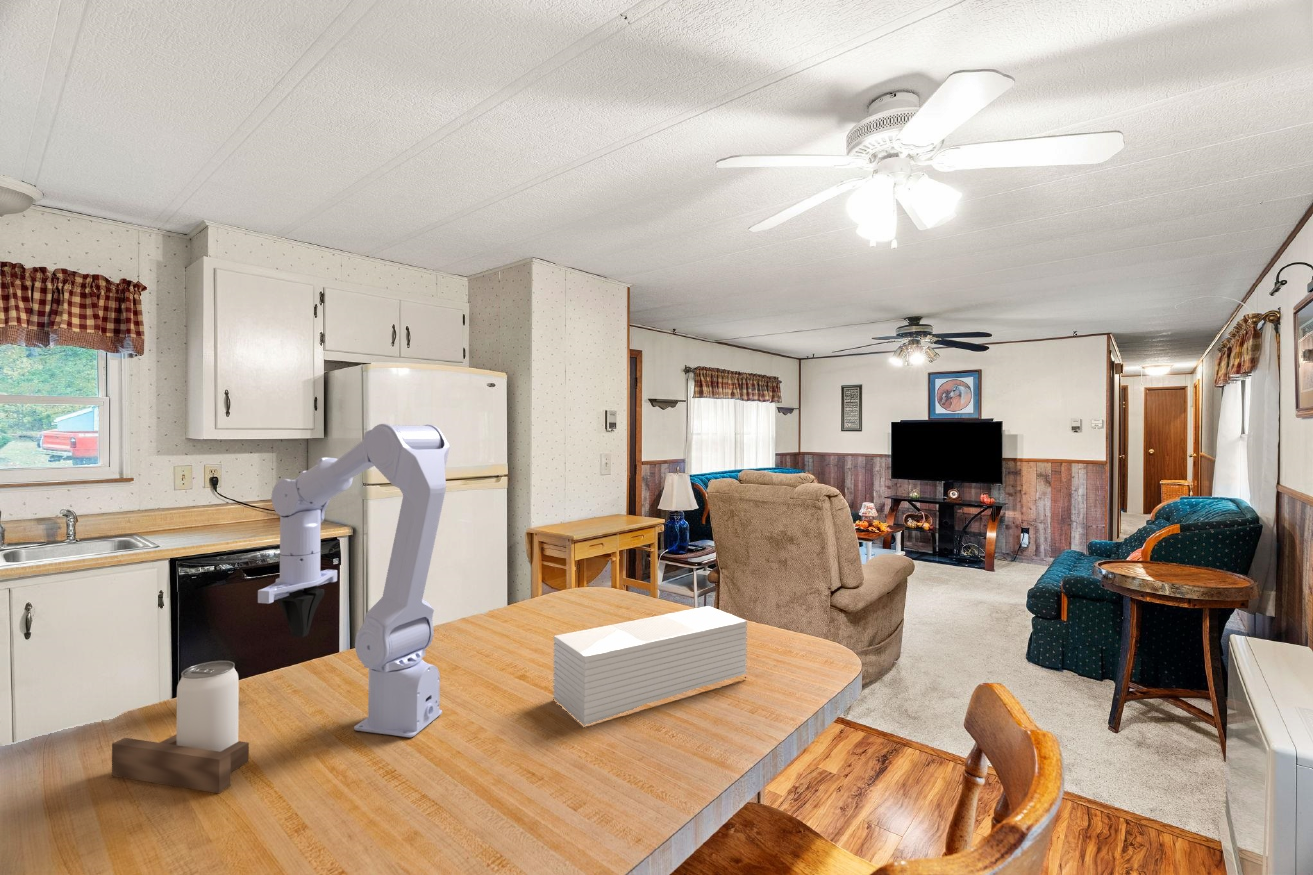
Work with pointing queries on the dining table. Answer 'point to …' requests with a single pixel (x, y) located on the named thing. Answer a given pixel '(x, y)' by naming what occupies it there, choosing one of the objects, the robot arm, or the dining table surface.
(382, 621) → the robot arm
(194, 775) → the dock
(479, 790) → the dining table surface
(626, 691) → the stack of papers
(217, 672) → the can
